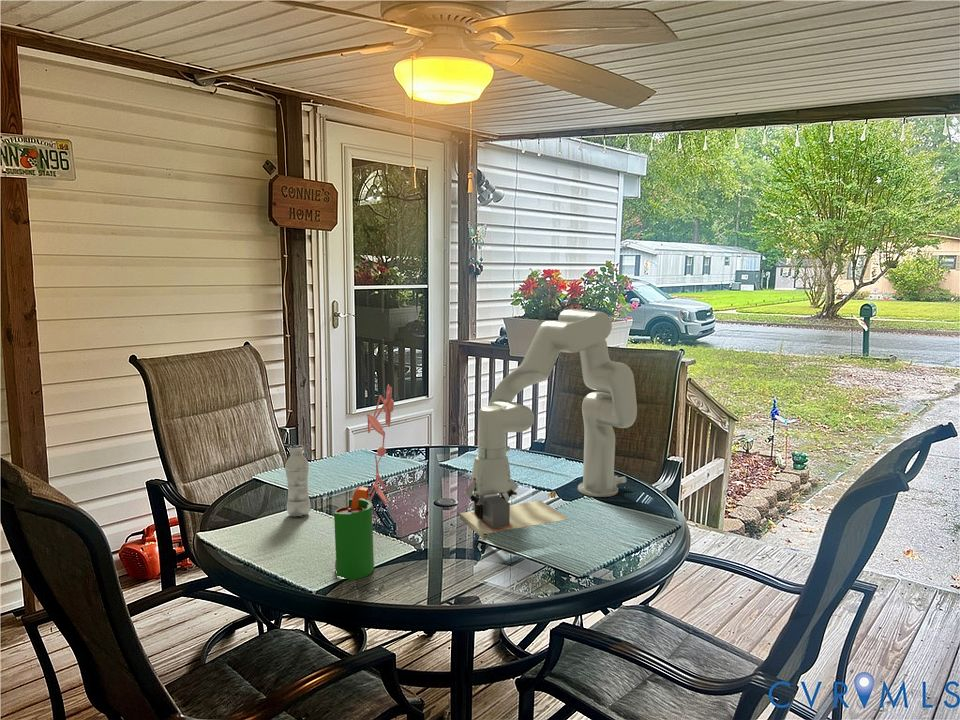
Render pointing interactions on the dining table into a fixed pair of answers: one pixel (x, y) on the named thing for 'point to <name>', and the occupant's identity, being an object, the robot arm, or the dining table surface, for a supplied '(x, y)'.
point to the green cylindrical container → (354, 537)
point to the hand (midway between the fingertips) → (491, 515)
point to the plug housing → (495, 511)
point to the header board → (516, 517)
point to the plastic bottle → (297, 482)
